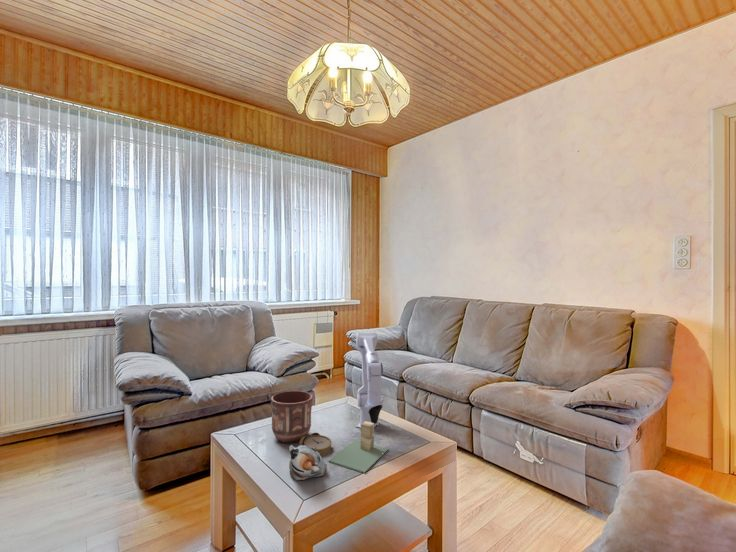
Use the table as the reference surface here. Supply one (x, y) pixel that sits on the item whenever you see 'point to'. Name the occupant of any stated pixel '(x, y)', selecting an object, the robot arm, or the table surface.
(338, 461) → the rubber mat
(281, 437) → the pottery
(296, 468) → the lucky cat figurine
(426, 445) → the table surface
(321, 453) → the alarm clock
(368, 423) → the birch block
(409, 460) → the table surface
